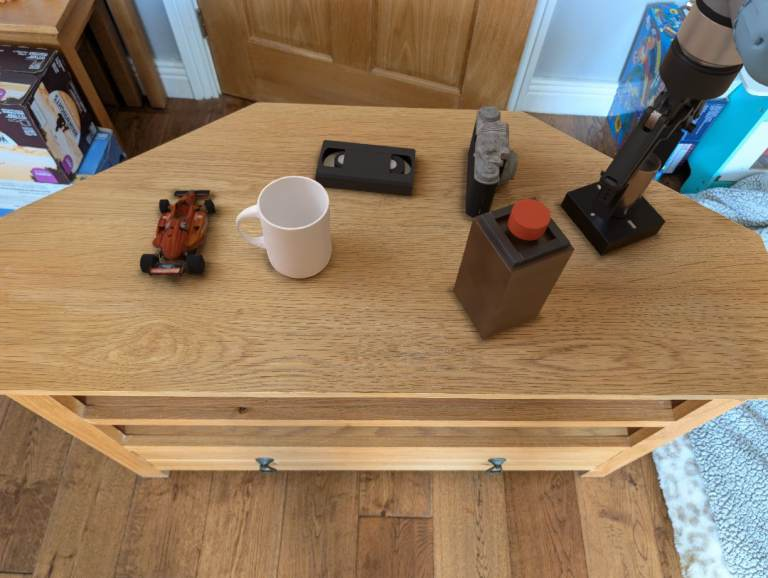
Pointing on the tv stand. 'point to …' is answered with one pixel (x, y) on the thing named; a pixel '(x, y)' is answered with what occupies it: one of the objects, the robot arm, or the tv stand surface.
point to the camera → (488, 161)
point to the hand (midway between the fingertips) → (626, 189)
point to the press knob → (529, 219)
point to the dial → (637, 186)
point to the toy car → (179, 235)
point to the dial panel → (610, 221)
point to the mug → (292, 225)
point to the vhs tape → (366, 167)
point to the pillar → (508, 272)
